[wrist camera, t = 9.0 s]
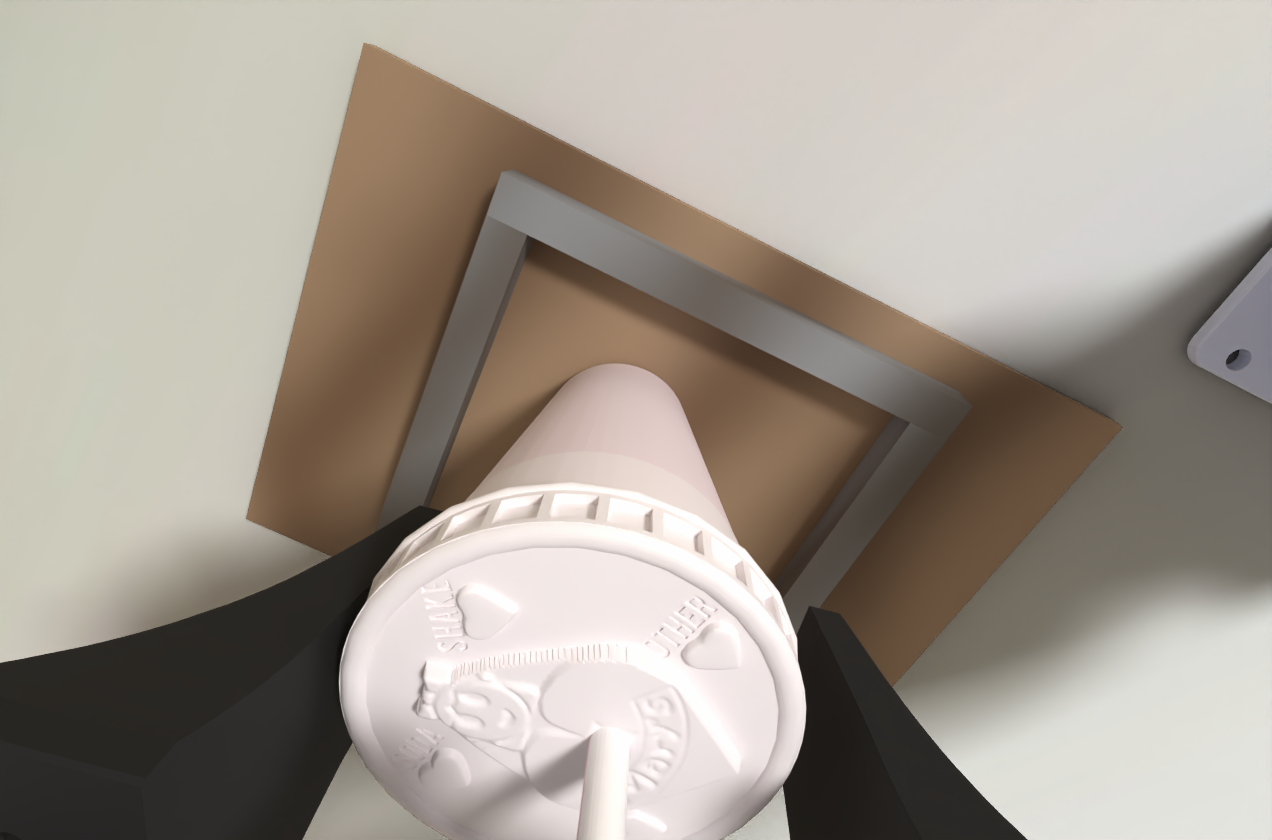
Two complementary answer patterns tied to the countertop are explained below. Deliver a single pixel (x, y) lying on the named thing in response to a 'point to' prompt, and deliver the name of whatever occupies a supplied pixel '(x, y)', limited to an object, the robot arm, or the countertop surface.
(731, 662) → the smoothie
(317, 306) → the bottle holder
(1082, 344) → the countertop surface
